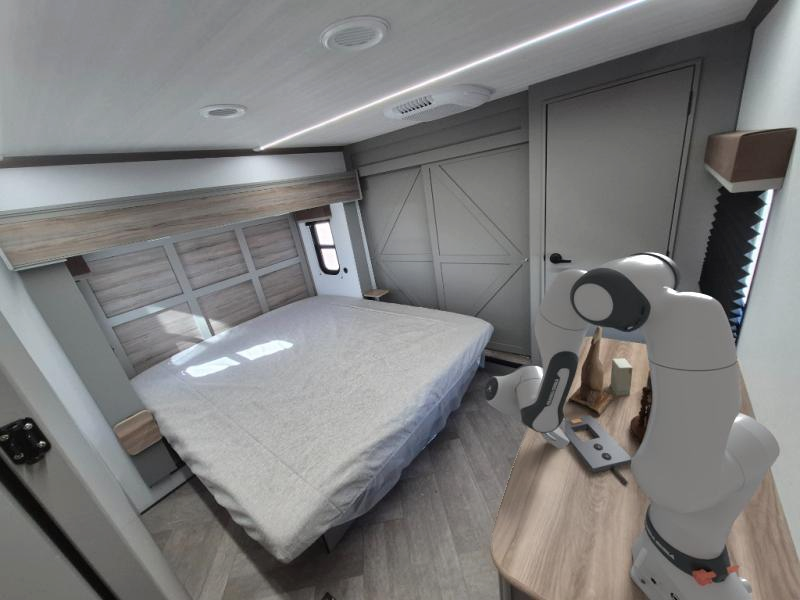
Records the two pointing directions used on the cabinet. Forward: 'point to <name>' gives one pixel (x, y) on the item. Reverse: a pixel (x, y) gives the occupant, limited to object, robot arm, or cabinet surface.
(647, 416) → the brown thread spool stand
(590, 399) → the bird sculpture
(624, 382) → the skincare box
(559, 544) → the cabinet surface
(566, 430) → the power strip
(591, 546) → the cabinet surface
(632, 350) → the cabinet surface
